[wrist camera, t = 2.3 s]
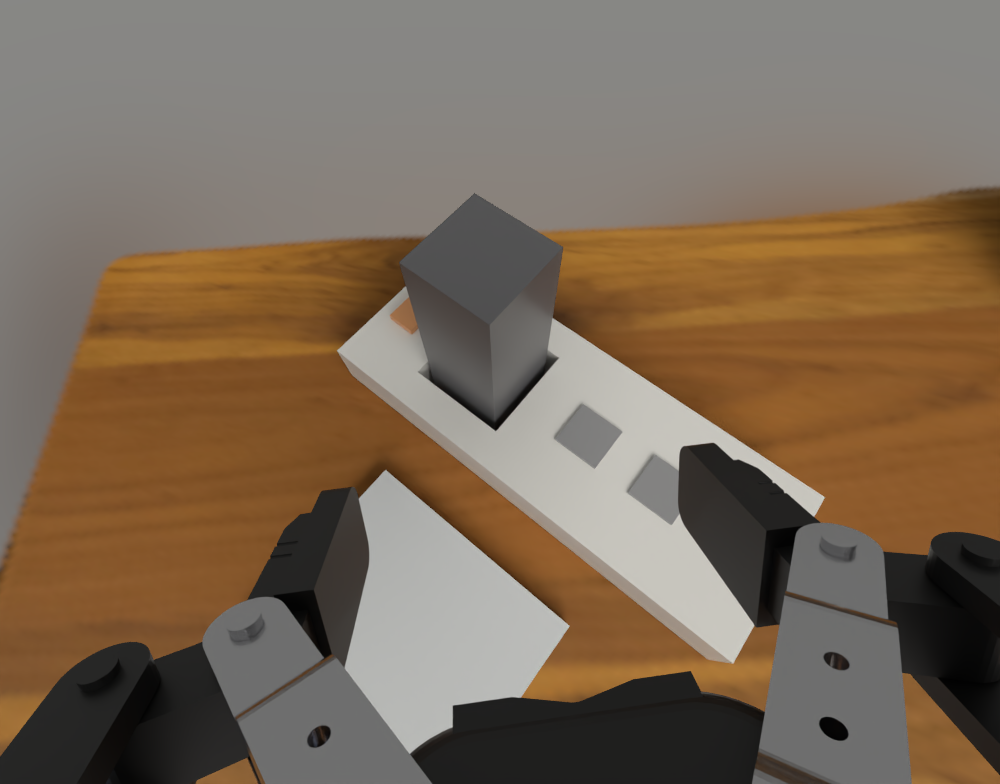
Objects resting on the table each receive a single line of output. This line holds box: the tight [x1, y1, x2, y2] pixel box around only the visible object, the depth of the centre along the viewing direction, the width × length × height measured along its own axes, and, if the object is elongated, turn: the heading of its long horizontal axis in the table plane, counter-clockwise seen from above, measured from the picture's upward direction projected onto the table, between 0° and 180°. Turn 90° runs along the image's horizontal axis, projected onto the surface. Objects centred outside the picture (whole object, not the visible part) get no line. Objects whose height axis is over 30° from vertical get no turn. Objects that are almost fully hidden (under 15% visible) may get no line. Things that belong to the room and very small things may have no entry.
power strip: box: [337, 286, 825, 664], centre depth 27 cm, size 9×24×3 cm, turn 51°
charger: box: [399, 193, 563, 431], centre depth 25 cm, size 4×4×12 cm
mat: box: [345, 470, 569, 754], centre depth 25 cm, size 10×12×1 cm
